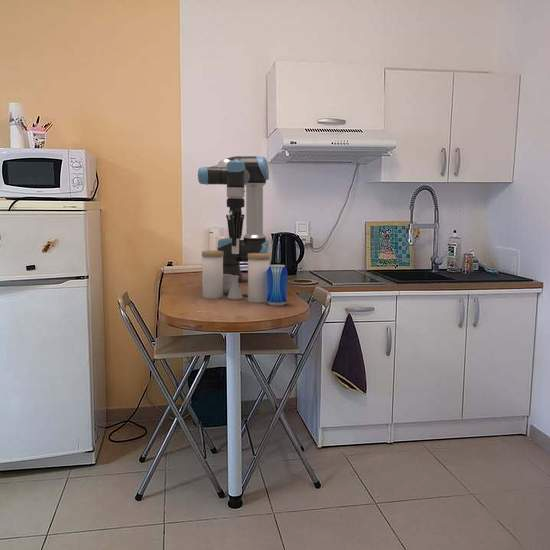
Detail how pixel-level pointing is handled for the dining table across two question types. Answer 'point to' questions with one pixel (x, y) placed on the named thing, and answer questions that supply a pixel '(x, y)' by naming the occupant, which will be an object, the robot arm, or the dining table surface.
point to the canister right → (257, 276)
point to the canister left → (212, 274)
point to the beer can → (276, 285)
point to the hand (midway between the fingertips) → (235, 253)
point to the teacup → (227, 282)
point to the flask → (235, 289)
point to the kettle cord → (242, 294)
